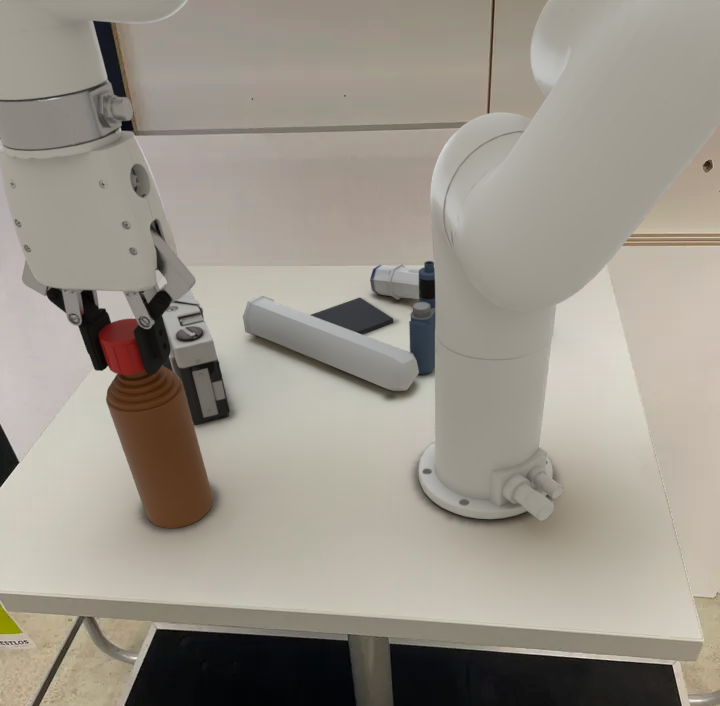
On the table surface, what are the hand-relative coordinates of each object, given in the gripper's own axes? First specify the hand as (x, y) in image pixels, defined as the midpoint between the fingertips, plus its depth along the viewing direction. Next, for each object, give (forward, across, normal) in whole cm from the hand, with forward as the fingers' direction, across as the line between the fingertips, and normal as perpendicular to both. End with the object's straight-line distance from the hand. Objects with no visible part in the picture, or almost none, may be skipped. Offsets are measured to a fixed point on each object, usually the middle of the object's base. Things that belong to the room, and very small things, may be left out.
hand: (132, 361), depth 58 cm
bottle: (+16, 0, 0) cm, 16 cm away
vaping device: (+16, -20, -28) cm, 38 cm away
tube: (+16, -8, -28) cm, 33 cm away
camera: (+16, +7, -19) cm, 26 cm away
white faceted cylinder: (+16, -22, -42) cm, 50 cm away
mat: (+16, -8, -38) cm, 42 cm away
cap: (0, 0, 0) cm, 0 cm away
